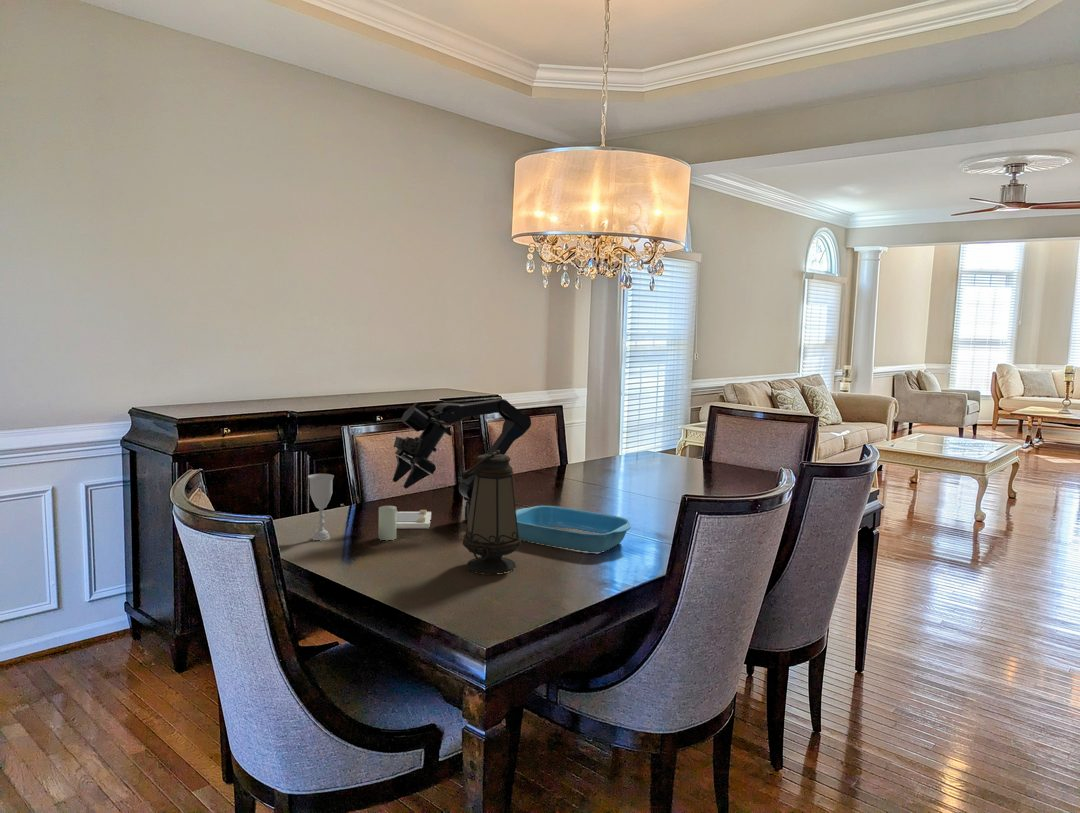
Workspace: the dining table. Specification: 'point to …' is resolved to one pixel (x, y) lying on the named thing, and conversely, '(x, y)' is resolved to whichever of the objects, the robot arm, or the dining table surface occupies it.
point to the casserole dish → (543, 519)
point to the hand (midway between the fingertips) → (399, 484)
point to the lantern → (491, 515)
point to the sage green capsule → (387, 522)
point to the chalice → (321, 499)
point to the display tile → (413, 519)
